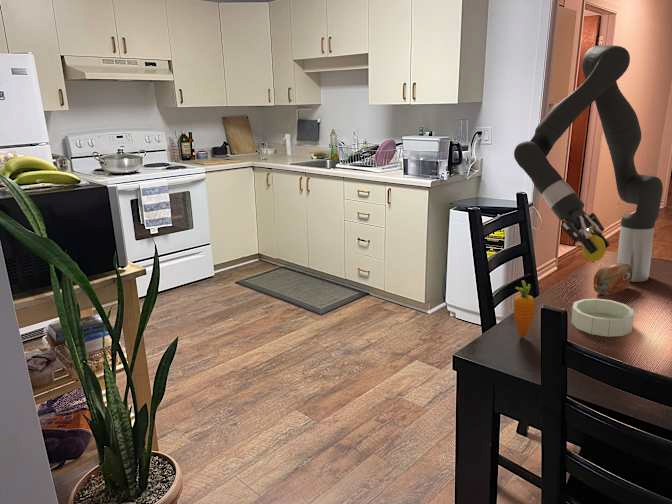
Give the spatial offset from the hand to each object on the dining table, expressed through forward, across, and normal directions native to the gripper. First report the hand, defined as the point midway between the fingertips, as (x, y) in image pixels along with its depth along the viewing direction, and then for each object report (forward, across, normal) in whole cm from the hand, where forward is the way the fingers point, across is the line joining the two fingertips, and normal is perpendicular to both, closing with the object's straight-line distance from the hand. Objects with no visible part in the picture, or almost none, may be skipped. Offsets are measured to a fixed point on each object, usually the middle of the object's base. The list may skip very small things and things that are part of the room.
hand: (600, 249), depth 136 cm
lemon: (+2, 0, +4) cm, 5 cm away
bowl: (+17, -6, +9) cm, 20 cm away
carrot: (+11, -28, +16) cm, 33 cm away
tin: (+10, +19, +16) cm, 27 cm away
